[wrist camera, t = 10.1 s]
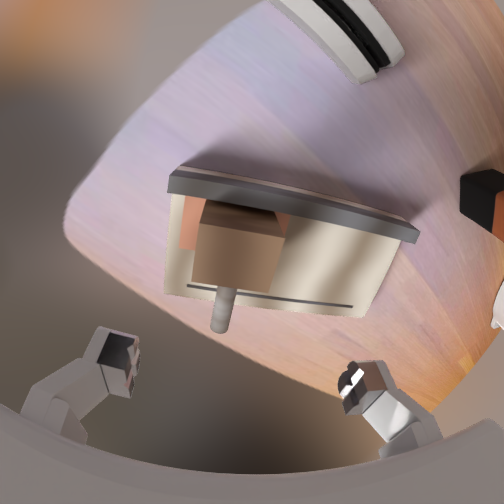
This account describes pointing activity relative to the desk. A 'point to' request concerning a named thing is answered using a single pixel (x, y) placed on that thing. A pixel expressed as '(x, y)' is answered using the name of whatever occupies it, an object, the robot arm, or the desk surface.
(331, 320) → the desk surface
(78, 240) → the desk surface
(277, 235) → the brown block with peg
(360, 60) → the grey rounded case
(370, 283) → the board
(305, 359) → the desk surface
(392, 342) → the desk surface
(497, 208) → the battery
